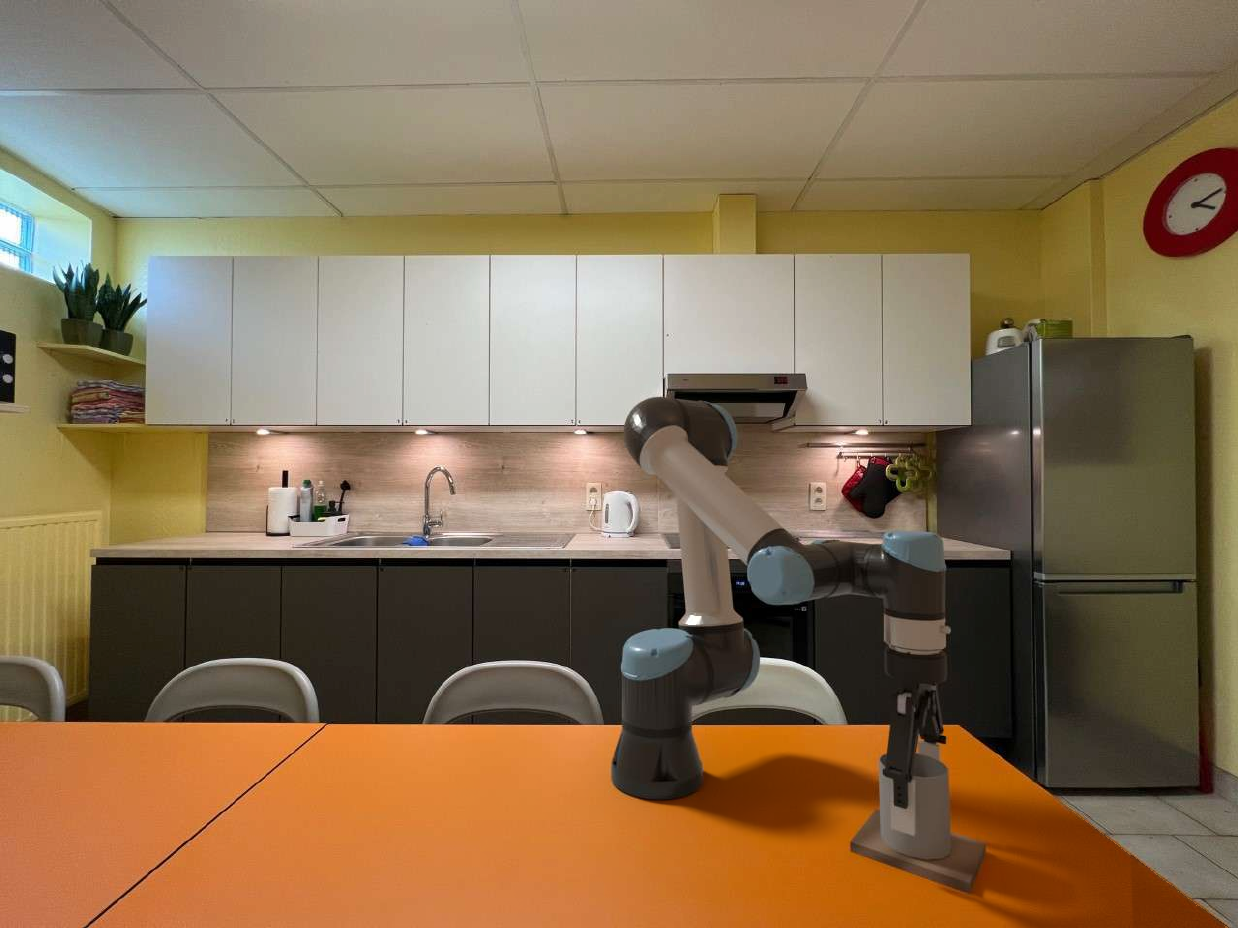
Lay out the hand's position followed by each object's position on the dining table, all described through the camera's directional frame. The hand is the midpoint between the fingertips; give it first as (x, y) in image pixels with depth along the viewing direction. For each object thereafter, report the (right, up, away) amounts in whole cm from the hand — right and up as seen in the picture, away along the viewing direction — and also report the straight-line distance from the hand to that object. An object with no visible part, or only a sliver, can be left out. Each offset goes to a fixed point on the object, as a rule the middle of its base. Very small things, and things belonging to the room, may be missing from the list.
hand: (917, 809), depth 83 cm
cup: (0, -4, 0) cm, 4 cm away
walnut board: (0, -5, 0) cm, 5 cm away
